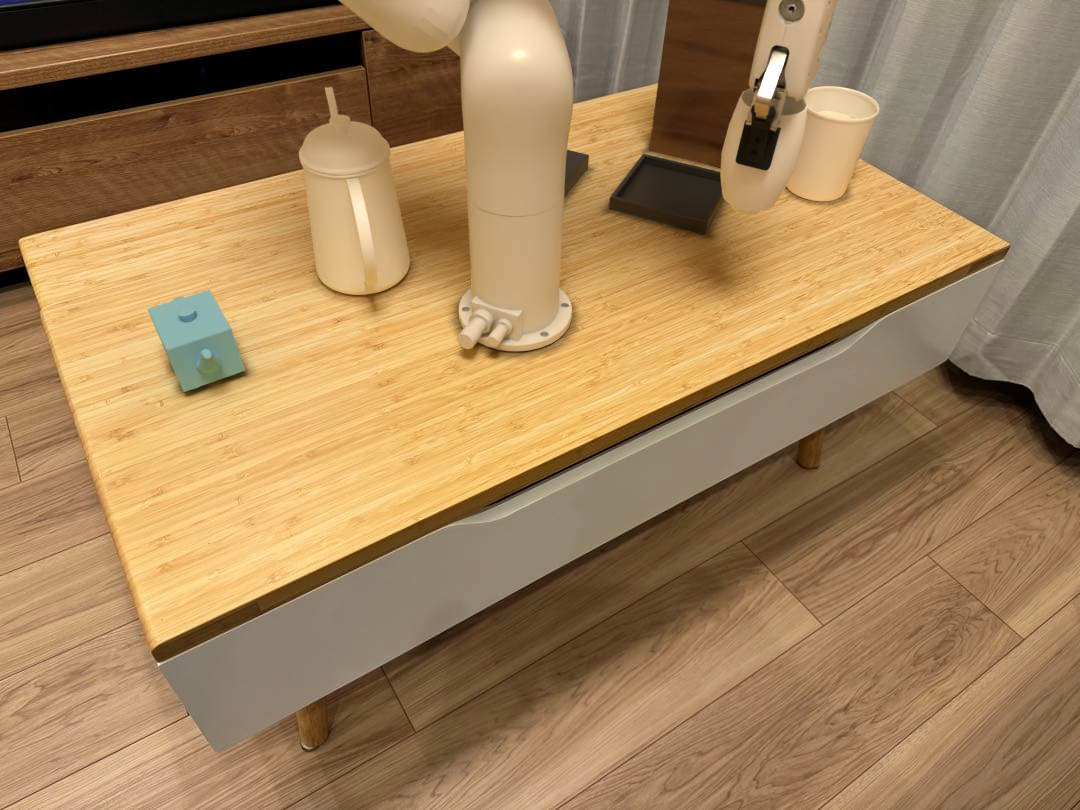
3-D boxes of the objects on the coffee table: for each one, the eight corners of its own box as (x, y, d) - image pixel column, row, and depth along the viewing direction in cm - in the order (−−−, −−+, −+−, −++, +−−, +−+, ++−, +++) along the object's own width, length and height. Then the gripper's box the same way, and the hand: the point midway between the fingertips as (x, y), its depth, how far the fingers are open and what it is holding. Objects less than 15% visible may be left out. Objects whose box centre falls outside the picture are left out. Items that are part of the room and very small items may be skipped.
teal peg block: (258, 397, 77) (239, 339, 72) (196, 420, 75) (171, 362, 69) (222, 329, 84) (202, 272, 79) (164, 348, 82) (139, 291, 76)
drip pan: (705, 234, 99) (707, 222, 98) (608, 209, 103) (609, 197, 102) (731, 186, 108) (734, 174, 106) (641, 164, 111) (642, 153, 110)
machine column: (743, 174, 110) (784, -5, 93) (647, 151, 114) (670, -25, 97) (753, 154, 114) (795, -21, 98) (660, 133, 118) (685, -39, 101)
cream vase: (706, 306, 83) (752, 120, 68) (684, 267, 88) (722, 85, 73) (769, 300, 85) (827, 116, 70) (743, 261, 89) (793, 82, 75)
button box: (553, 209, 102) (555, 182, 100) (486, 191, 105) (485, 164, 102) (588, 169, 110) (590, 142, 107) (524, 153, 113) (524, 127, 110)
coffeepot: (391, 207, 102) (372, 62, 88) (430, 325, 85) (415, 168, 72) (306, 219, 99) (274, 71, 86) (330, 343, 83) (294, 184, 69)
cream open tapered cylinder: (807, 211, 104) (834, 125, 95) (764, 176, 110) (785, 92, 101) (865, 196, 107) (896, 112, 98) (820, 163, 113) (845, 81, 104)
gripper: (847, -21, 56) (781, 200, 68) (878, -78, 67) (817, 121, 80) (744, -39, 58) (698, 179, 70) (792, -92, 69) (745, 104, 82)
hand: (762, 146), depth 75 cm, fingers closed on cream vase, 7 cm apart
